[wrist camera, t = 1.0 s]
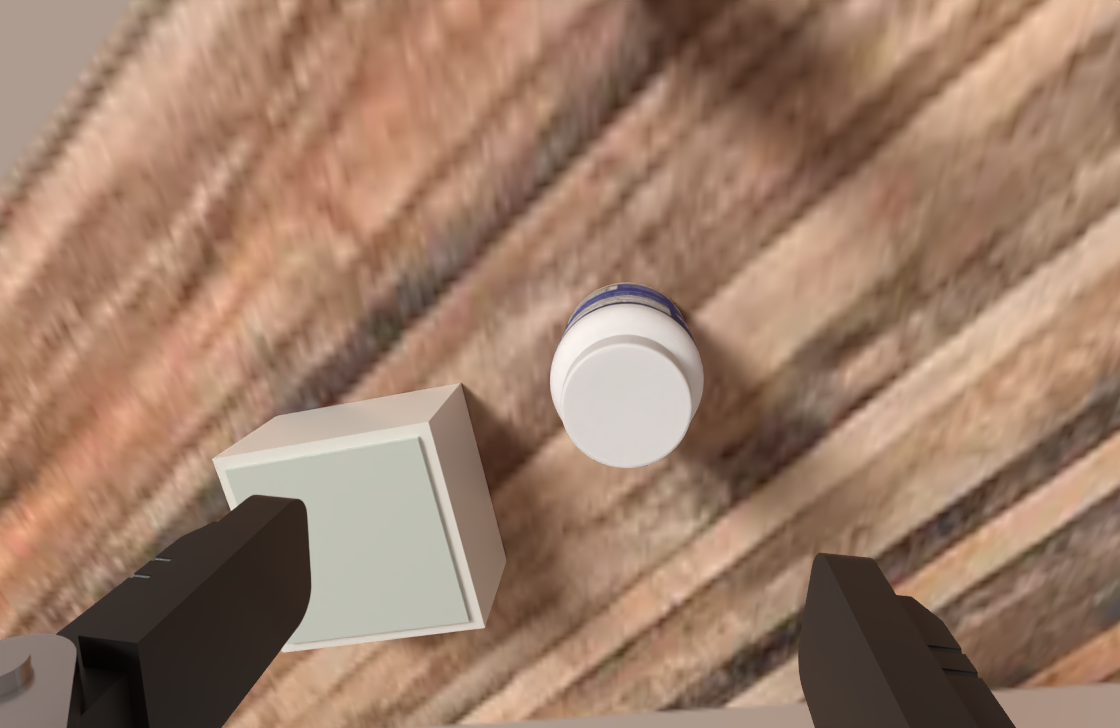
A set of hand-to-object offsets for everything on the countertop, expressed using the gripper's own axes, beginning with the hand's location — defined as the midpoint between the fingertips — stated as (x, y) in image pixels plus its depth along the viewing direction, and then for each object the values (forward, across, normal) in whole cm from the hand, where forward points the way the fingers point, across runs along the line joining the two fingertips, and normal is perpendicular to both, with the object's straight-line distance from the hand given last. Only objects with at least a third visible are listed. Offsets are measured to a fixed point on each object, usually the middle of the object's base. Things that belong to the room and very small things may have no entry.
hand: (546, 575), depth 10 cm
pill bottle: (+19, -1, +1) cm, 19 cm away
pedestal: (+18, +9, +8) cm, 22 cm away
